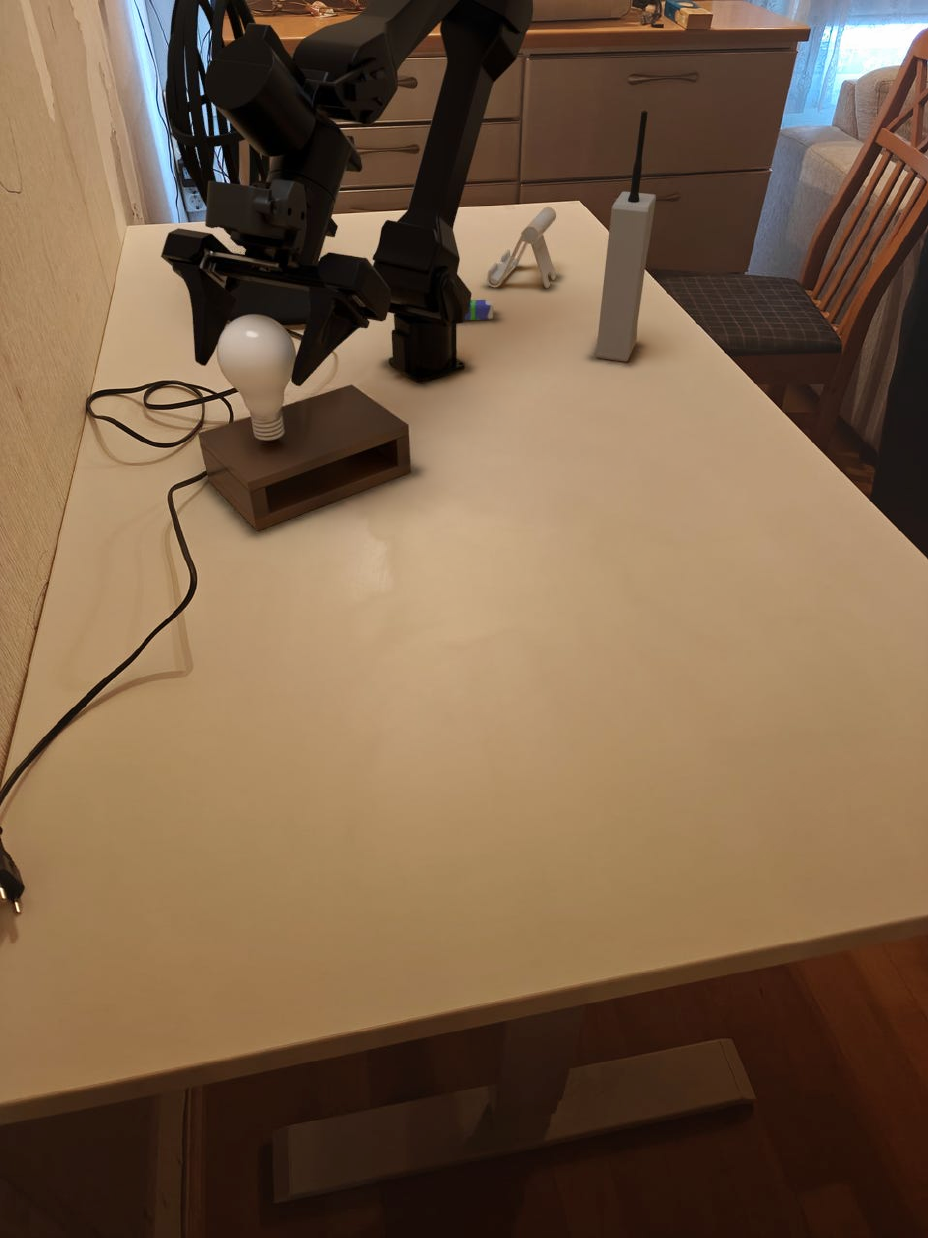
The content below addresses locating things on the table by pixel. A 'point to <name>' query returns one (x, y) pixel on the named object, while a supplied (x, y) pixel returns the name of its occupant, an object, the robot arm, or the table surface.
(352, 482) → the shelf
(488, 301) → the eraser
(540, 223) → the tablet stand
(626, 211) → the vintage mobile phone
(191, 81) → the desk fan
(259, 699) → the table surface
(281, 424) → the lightbulb
